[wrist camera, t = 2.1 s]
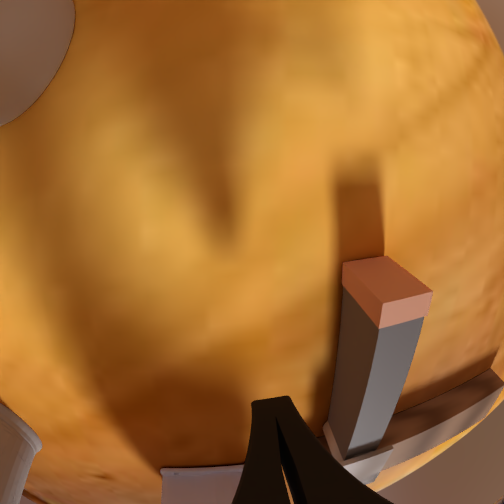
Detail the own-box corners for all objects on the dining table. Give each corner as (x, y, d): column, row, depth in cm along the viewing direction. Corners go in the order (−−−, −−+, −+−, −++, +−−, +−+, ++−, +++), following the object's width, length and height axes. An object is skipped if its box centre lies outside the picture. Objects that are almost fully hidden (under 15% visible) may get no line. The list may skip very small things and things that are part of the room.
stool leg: (355, 427, 20) (372, 465, 16) (321, 437, 20) (335, 477, 16) (389, 255, 14) (436, 290, 10) (338, 262, 14) (378, 304, 10)
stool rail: (299, 468, 22) (311, 510, 17) (304, 415, 18) (322, 471, 14) (472, 401, 24) (492, 427, 19) (502, 341, 20) (531, 367, 16)
